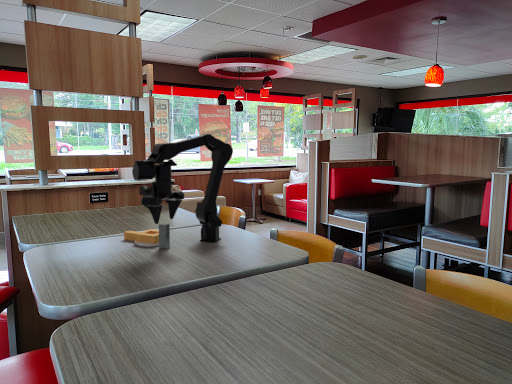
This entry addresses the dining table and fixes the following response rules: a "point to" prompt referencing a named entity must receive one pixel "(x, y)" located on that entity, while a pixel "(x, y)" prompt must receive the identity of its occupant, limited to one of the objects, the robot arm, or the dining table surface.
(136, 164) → the robot arm
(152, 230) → the bracket
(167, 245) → the dark grey post
